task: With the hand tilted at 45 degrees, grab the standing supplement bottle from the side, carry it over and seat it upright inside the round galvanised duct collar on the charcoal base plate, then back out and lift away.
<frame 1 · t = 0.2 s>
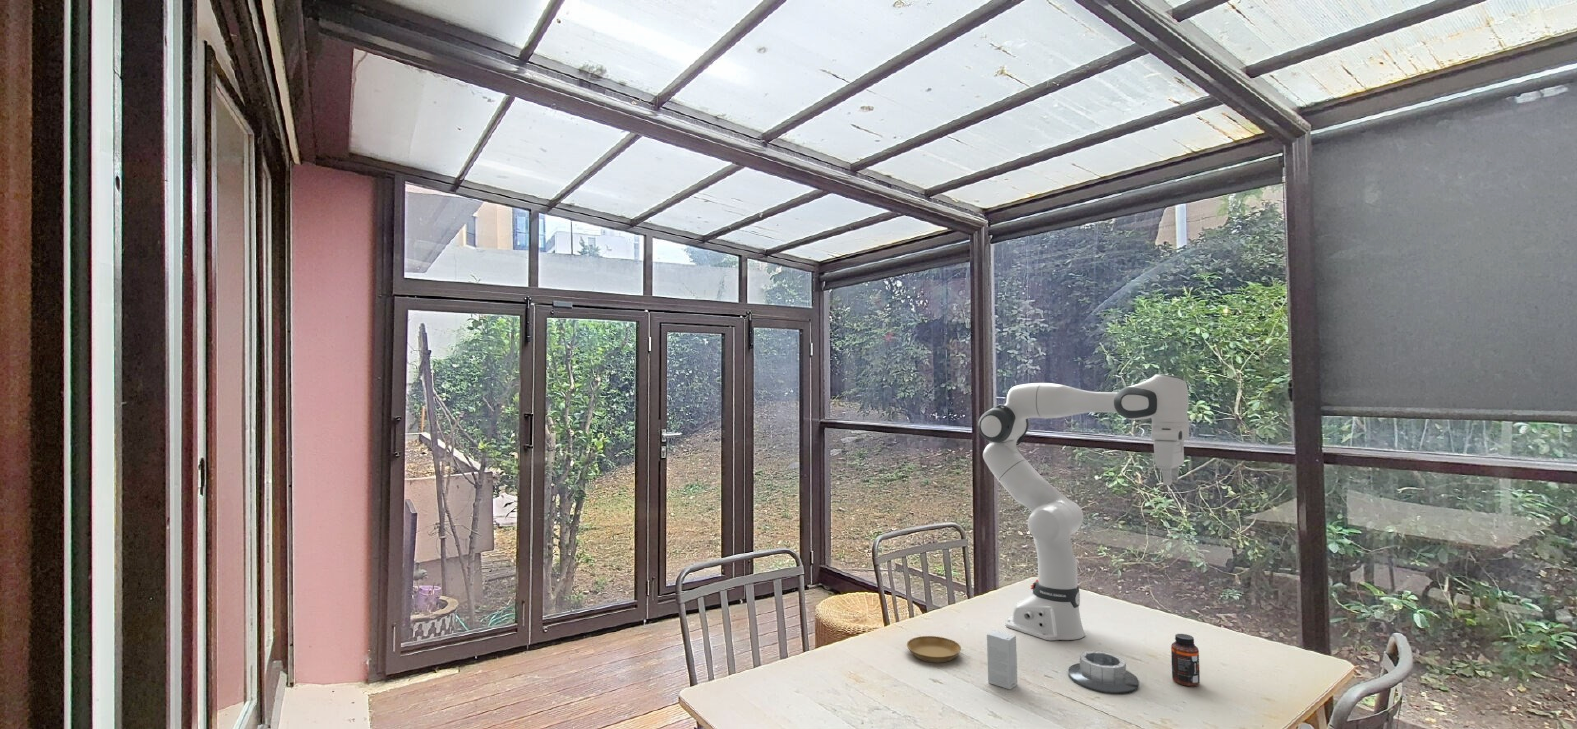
hand: (1170, 483, 178), 47 cm above the table, tool pointing down, fingers open, 8 cm apart
supplement bottle: (1185, 683, 162), on the table
skincare box: (1002, 684, 162), on the table
duct collar: (1102, 679, 164), on the table
plant saucer: (933, 656, 180), on the table
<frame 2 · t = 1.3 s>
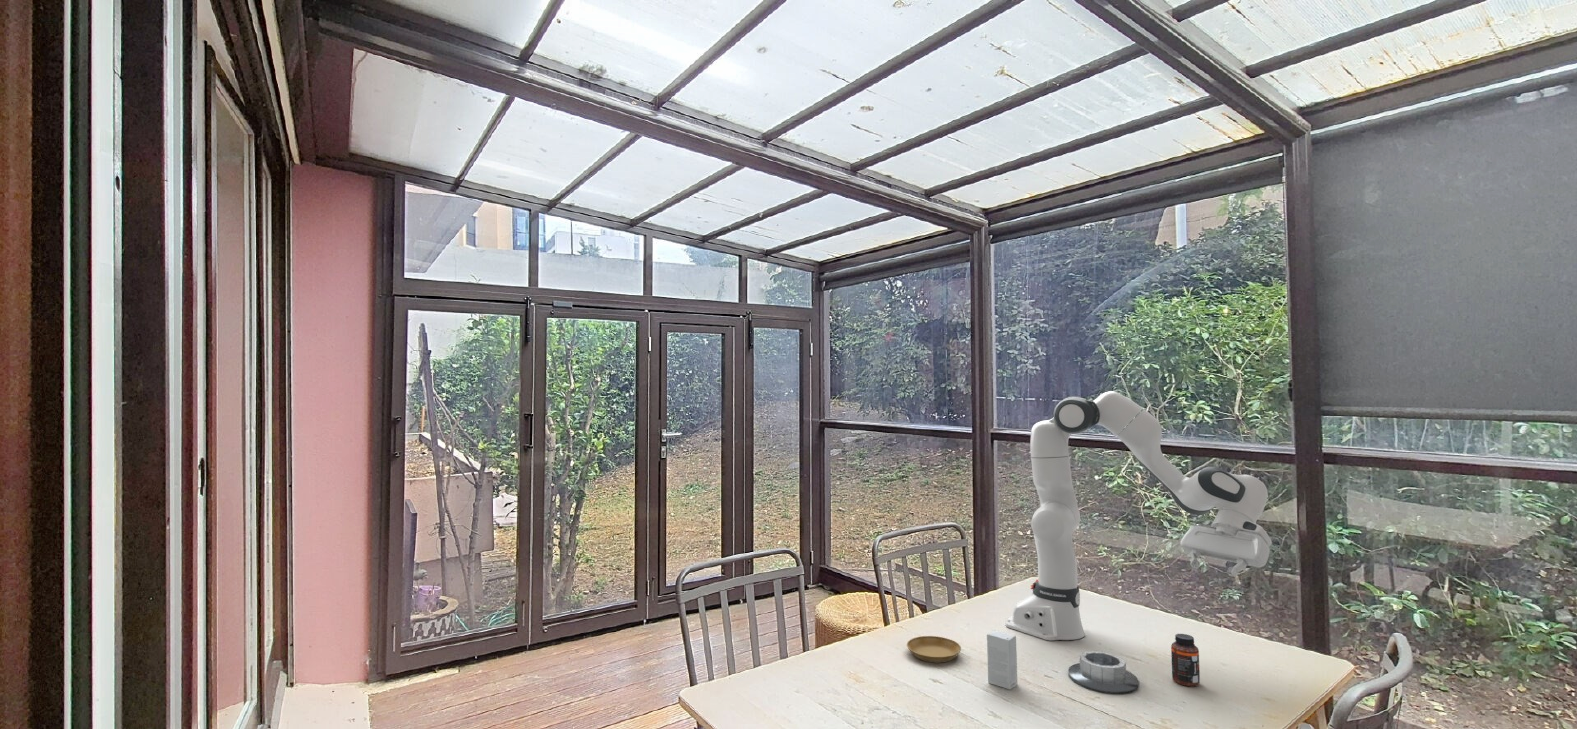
hand: (1211, 570, 169), 26 cm above the table, tool tilted 45°, fingers open, 8 cm apart
nothing on the table moved.
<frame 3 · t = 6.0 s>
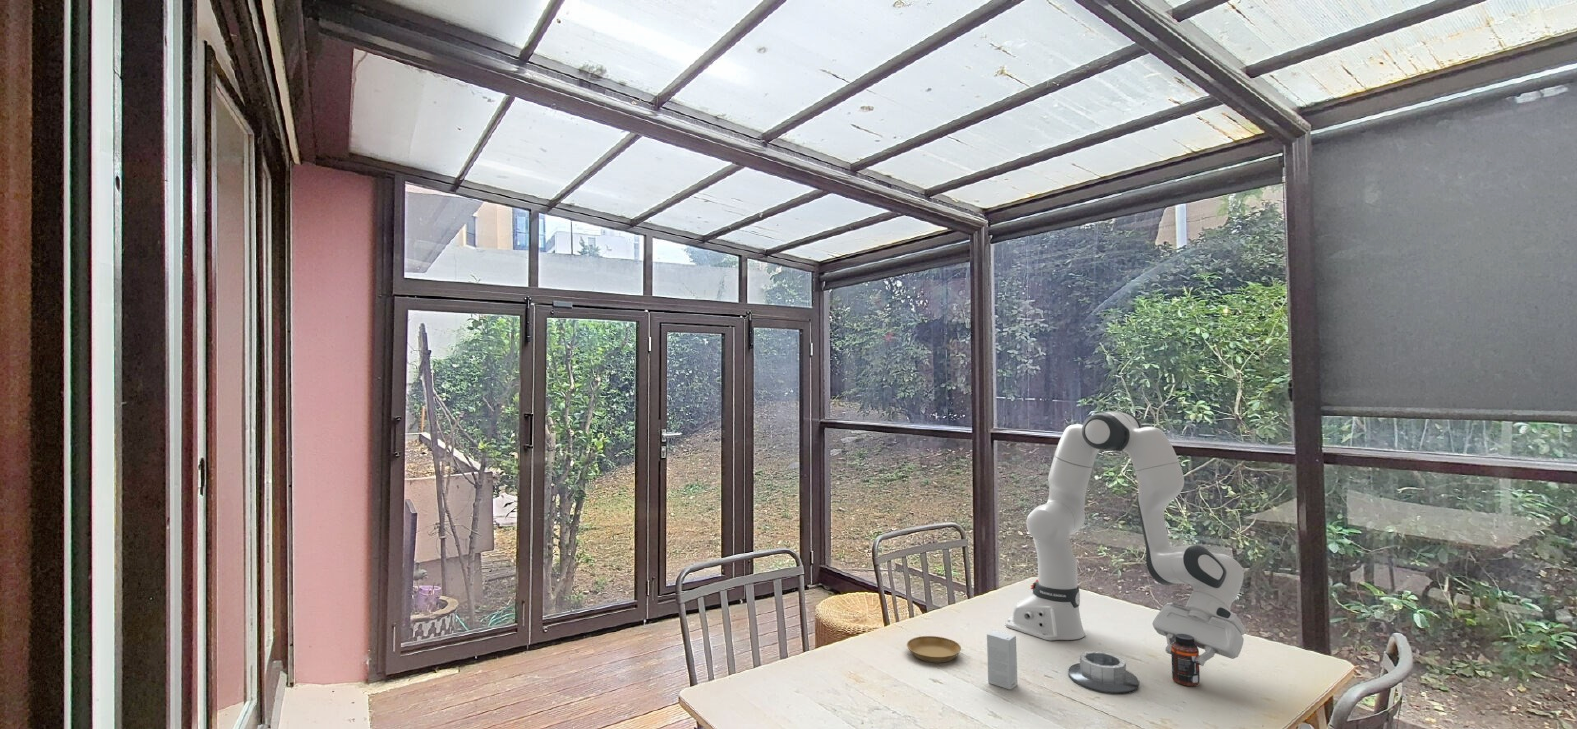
hand: (1183, 658, 162), 6 cm above the table, tool tilted 45°, fingers closed on supplement bottle, 6 cm apart
supplement bottle: (1185, 683, 162), on the table, touching gripper
everything else where it was.
when the fingers open (8 cm above the table, at t = 12.6 s): supplement bottle stays where it is, resting on duct collar.
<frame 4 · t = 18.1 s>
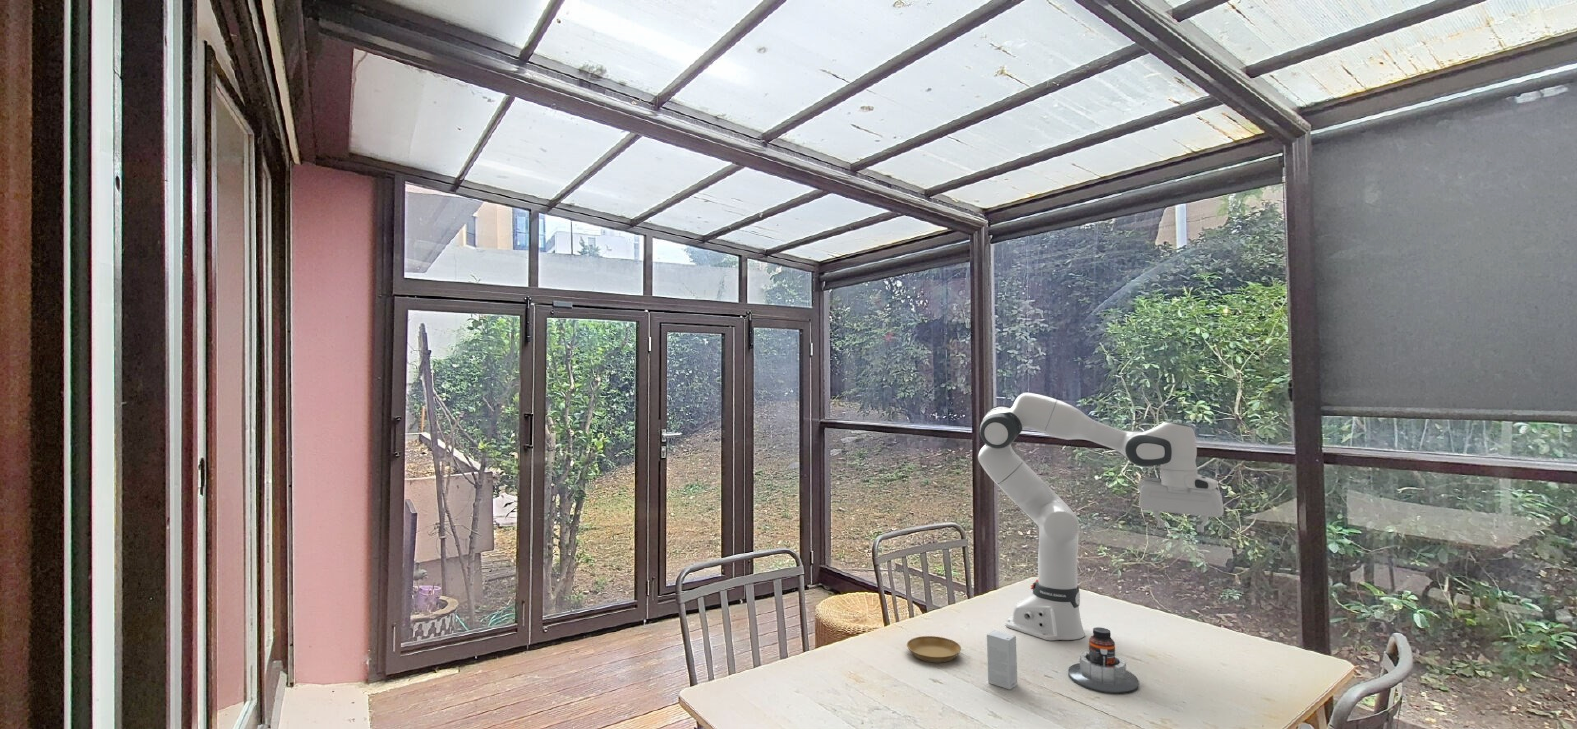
hand: (1180, 529, 181), 34 cm above the table, tool pointing down, fingers open, 8 cm apart
supplement bottle: (1102, 676, 164), point 1 cm above the table, touching duct collar
everything else where it was.
at the end: supplement bottle 0.1 cm off-centre on the duct collar, point 0.8 cm above the duct collar's base; supplement bottle tilted 0°; the gripper is holding nothing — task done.
